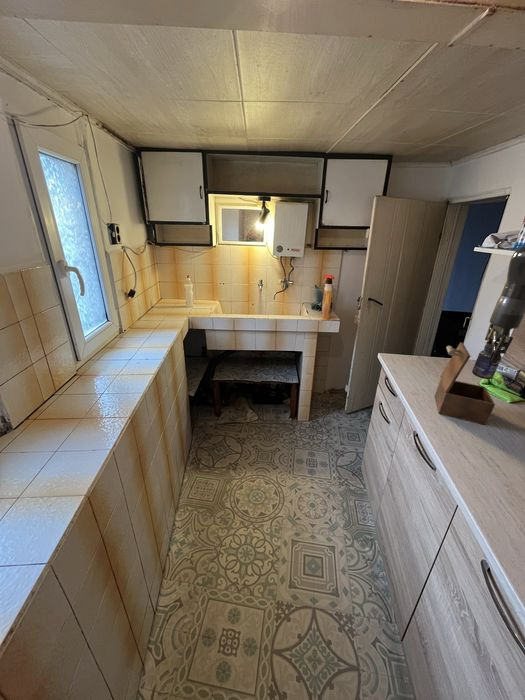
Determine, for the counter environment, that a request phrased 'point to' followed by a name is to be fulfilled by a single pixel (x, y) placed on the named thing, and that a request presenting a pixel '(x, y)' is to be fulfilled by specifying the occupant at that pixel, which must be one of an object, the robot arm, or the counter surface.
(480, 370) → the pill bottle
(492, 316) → the robot arm
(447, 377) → the bin lid
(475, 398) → the bin
